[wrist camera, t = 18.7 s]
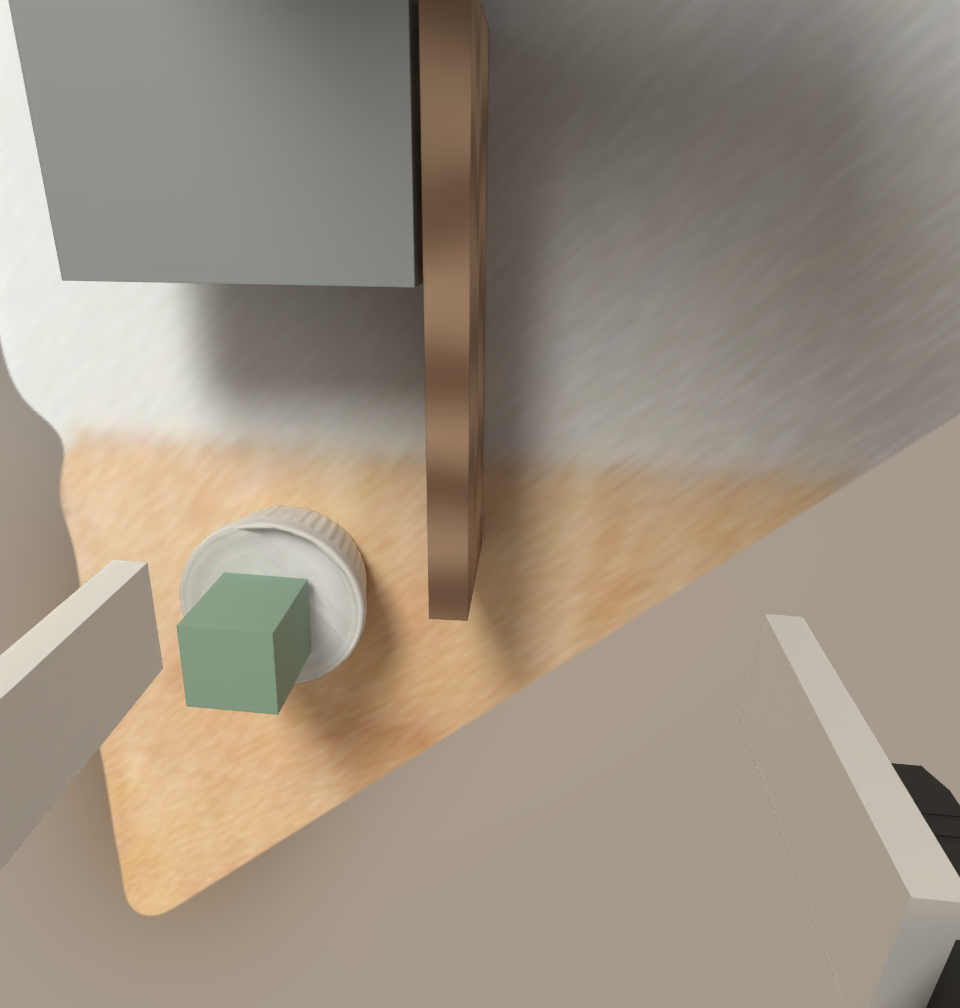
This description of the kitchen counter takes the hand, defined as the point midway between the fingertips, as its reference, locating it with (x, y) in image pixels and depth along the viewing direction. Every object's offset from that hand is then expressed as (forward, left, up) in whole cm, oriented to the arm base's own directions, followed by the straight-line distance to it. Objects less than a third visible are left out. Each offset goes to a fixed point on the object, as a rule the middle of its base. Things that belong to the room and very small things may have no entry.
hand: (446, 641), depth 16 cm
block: (+14, -14, -24) cm, 31 cm away
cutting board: (-3, -2, -29) cm, 29 cm away
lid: (-11, -12, -22) cm, 27 cm away
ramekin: (+14, -14, -29) cm, 35 cm away
